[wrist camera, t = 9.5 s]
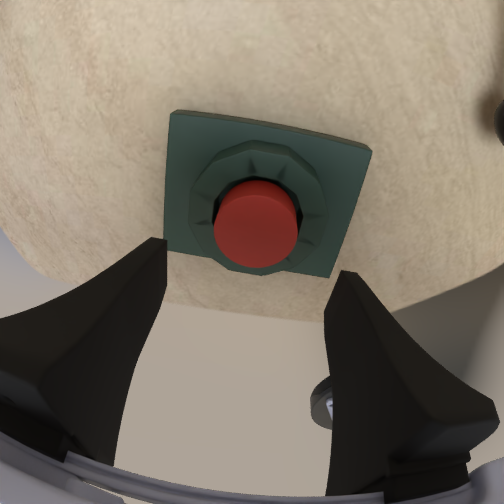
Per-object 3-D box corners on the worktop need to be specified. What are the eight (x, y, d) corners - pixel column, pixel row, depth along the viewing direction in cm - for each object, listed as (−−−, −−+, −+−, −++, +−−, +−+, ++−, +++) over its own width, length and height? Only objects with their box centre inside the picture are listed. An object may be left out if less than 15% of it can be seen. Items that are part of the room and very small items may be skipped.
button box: (367, 144, 15) (384, 162, 13) (327, 266, 20) (333, 299, 17) (176, 109, 15) (157, 120, 12) (168, 239, 19) (153, 268, 17)
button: (303, 187, 14) (306, 204, 13) (286, 252, 16) (287, 273, 15) (224, 173, 14) (218, 188, 13) (215, 240, 16) (209, 260, 15)
